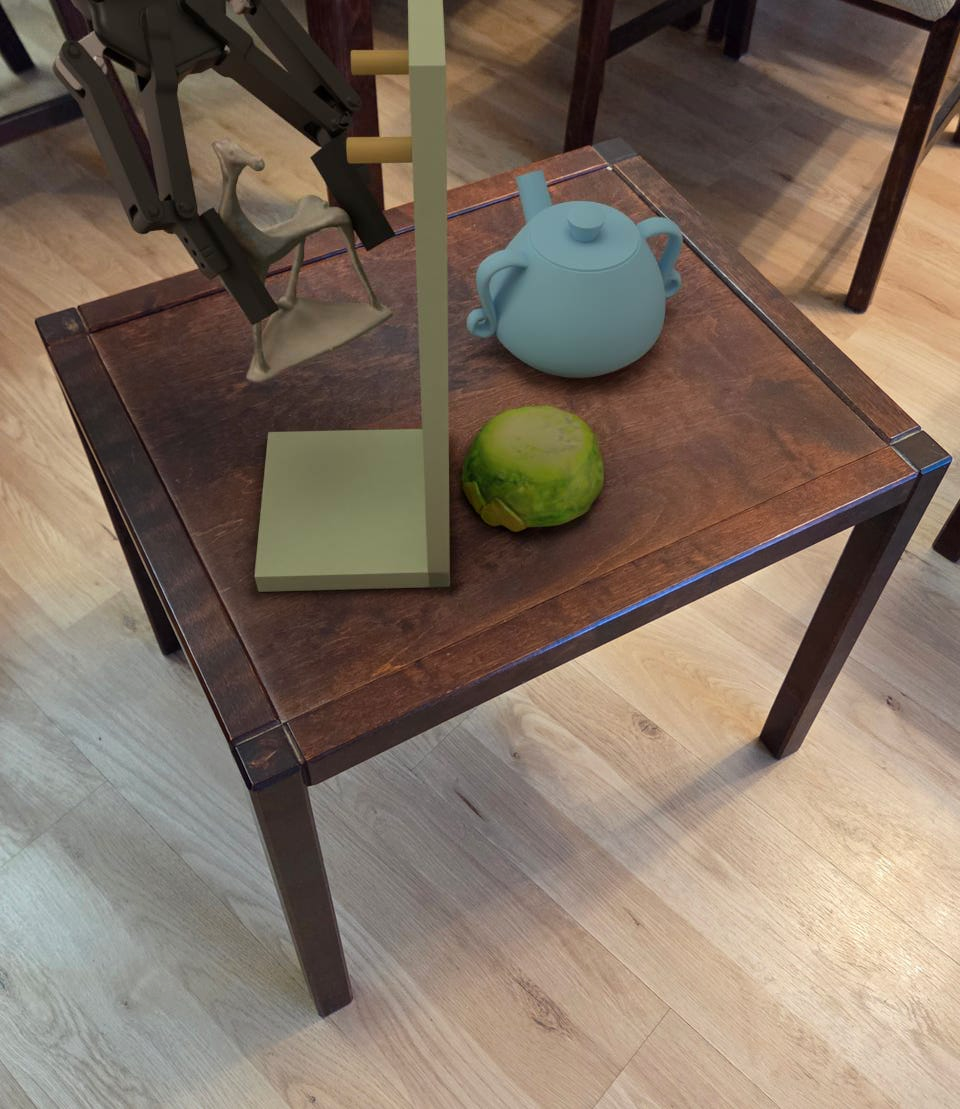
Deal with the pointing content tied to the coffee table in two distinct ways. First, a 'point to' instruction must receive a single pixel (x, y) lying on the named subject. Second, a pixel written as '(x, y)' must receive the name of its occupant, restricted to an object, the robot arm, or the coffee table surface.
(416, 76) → the rack
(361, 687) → the coffee table surface
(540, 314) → the teapot
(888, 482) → the coffee table surface
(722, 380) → the coffee table surface
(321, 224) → the figurine
